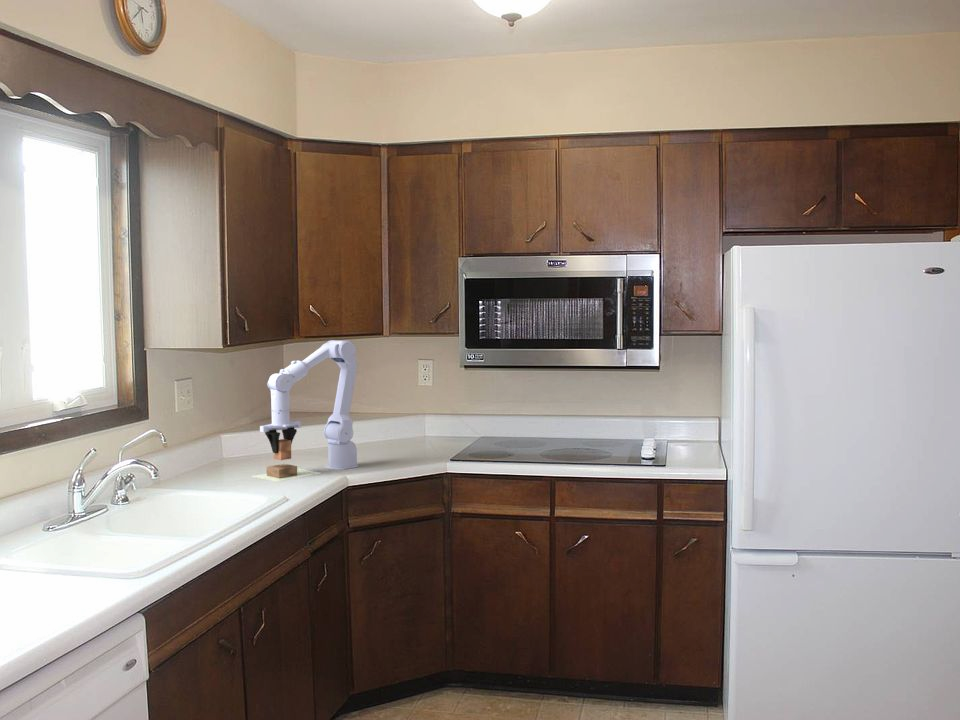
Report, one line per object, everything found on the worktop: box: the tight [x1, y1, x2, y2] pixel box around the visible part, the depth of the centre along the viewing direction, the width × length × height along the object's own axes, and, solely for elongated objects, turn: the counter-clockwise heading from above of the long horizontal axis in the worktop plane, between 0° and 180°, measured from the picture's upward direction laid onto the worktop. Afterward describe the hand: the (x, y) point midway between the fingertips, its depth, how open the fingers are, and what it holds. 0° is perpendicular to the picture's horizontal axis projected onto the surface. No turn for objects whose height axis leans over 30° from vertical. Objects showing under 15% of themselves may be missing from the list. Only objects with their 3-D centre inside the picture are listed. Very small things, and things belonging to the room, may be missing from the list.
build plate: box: [251, 467, 322, 483], centre depth 272 cm, size 18×14×1 cm
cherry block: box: [273, 438, 292, 461], centre depth 269 cm, size 4×4×6 cm
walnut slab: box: [265, 463, 298, 479], centre depth 270 cm, size 7×7×3 cm
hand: (281, 451), depth 270 cm, fingers closed on cherry block, 4 cm apart
